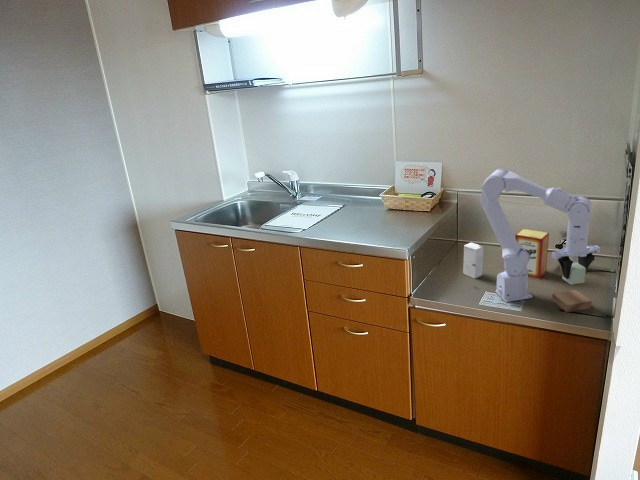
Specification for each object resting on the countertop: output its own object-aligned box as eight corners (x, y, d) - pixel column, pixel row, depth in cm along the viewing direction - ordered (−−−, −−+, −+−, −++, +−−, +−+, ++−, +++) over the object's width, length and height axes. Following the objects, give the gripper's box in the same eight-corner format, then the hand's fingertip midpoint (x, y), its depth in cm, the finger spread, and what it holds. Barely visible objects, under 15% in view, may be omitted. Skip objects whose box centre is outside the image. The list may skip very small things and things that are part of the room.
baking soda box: (513, 272, 174) (515, 233, 168) (520, 266, 179) (522, 227, 173) (539, 278, 168) (542, 238, 162) (546, 271, 172) (549, 232, 166)
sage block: (570, 284, 145) (572, 270, 143) (562, 278, 149) (563, 264, 147) (584, 282, 145) (585, 268, 143) (575, 276, 149) (576, 262, 147)
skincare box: (462, 273, 178) (462, 245, 174) (470, 270, 180) (470, 241, 176) (475, 279, 173) (475, 249, 169) (483, 275, 175) (483, 246, 171)
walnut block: (566, 313, 146) (567, 305, 145) (551, 301, 154) (552, 293, 153) (590, 309, 147) (591, 301, 146) (574, 297, 154) (575, 289, 153)
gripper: (562, 244, 137) (559, 285, 142) (608, 237, 138) (603, 278, 143) (549, 236, 144) (546, 275, 149) (593, 229, 145) (588, 268, 150)
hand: (573, 276), depth 146 cm, fingers closed on sage block, 4 cm apart
